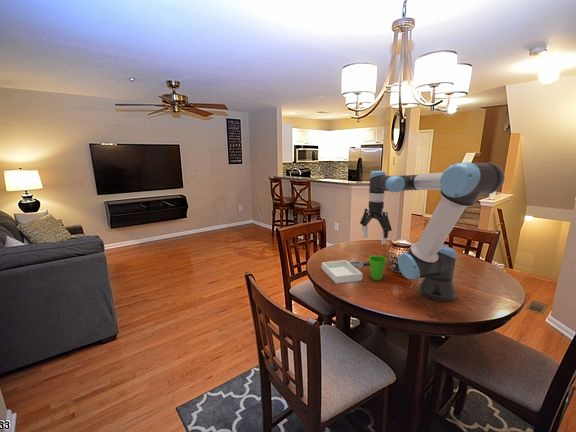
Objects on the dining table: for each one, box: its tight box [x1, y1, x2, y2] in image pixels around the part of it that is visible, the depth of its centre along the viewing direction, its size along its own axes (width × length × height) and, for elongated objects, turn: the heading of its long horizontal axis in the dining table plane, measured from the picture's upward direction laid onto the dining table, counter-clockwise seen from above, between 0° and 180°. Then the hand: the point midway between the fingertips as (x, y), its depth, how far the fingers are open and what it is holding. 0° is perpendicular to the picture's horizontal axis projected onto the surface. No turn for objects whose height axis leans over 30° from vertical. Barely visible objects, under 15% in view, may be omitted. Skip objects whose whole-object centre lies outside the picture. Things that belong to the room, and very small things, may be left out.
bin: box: [321, 259, 364, 285], centre depth 153 cm, size 20×15×4 cm
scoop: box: [349, 260, 370, 269], centre depth 166 cm, size 12×5×2 cm, turn 105°
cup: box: [368, 255, 388, 281], centre depth 148 cm, size 9×9×11 cm
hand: (374, 240), depth 151 cm, fingers open, 13 cm apart
